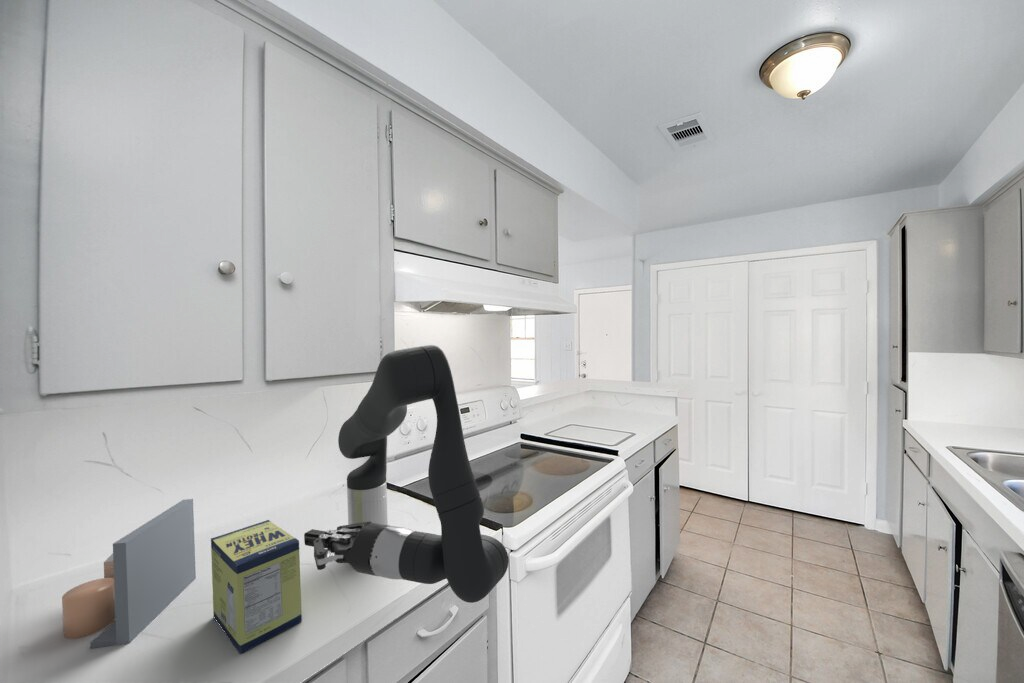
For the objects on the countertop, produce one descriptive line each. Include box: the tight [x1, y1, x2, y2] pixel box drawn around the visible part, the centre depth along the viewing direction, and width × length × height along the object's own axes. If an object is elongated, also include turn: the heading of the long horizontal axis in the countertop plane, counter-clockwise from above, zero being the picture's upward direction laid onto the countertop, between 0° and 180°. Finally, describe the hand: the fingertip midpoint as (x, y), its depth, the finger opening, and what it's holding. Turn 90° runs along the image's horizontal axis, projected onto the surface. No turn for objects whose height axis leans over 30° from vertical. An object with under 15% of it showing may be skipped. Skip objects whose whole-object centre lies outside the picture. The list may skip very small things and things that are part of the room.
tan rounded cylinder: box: [61, 577, 116, 640], centre depth 78 cm, size 7×7×7 cm
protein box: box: [210, 519, 303, 654], centre depth 78 cm, size 10×16×16 cm
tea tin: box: [103, 553, 114, 579], centre depth 87 cm, size 5×5×9 cm
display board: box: [89, 498, 197, 649], centre depth 82 cm, size 20×6×18 cm, turn 10°
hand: (307, 536), depth 73 cm, fingers closed
